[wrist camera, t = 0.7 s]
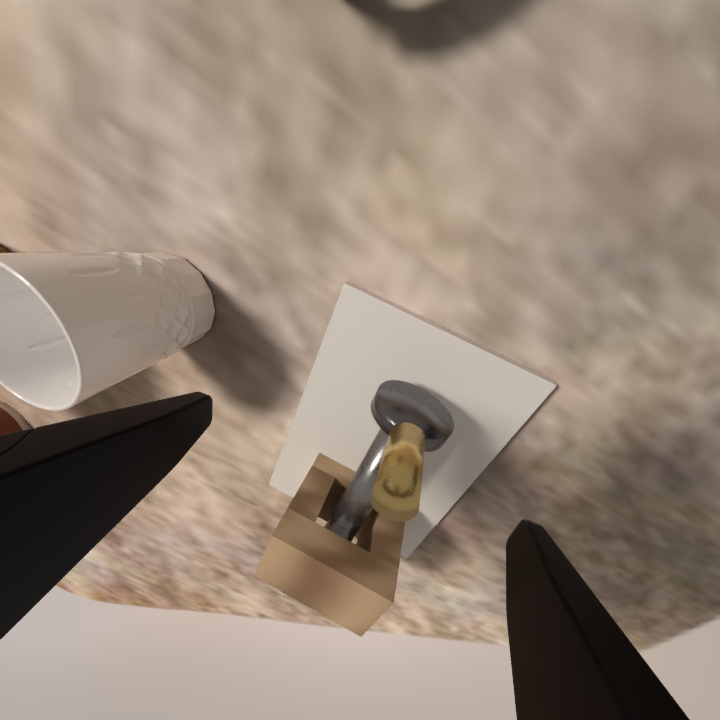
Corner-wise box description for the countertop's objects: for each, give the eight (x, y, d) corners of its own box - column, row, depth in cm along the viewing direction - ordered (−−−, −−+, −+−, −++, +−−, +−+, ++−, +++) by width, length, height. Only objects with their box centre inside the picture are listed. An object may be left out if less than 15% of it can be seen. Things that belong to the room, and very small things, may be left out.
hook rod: (456, 399, 18) (463, 519, 11) (353, 549, 26) (314, 680, 19) (388, 365, 19) (348, 458, 11) (306, 524, 27) (250, 643, 19)
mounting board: (552, 379, 18) (556, 385, 18) (407, 550, 27) (406, 559, 27) (348, 281, 19) (344, 283, 19) (273, 478, 28) (268, 484, 28)
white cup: (186, 363, 26) (49, 433, 17) (119, 286, 24) (-69, 318, 15) (242, 312, 22) (106, 366, 13) (167, 219, 21) (-39, 211, 12)
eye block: (408, 499, 24) (393, 602, 17) (382, 533, 26) (361, 636, 20) (319, 452, 25) (271, 535, 18) (302, 490, 27) (254, 575, 20)
